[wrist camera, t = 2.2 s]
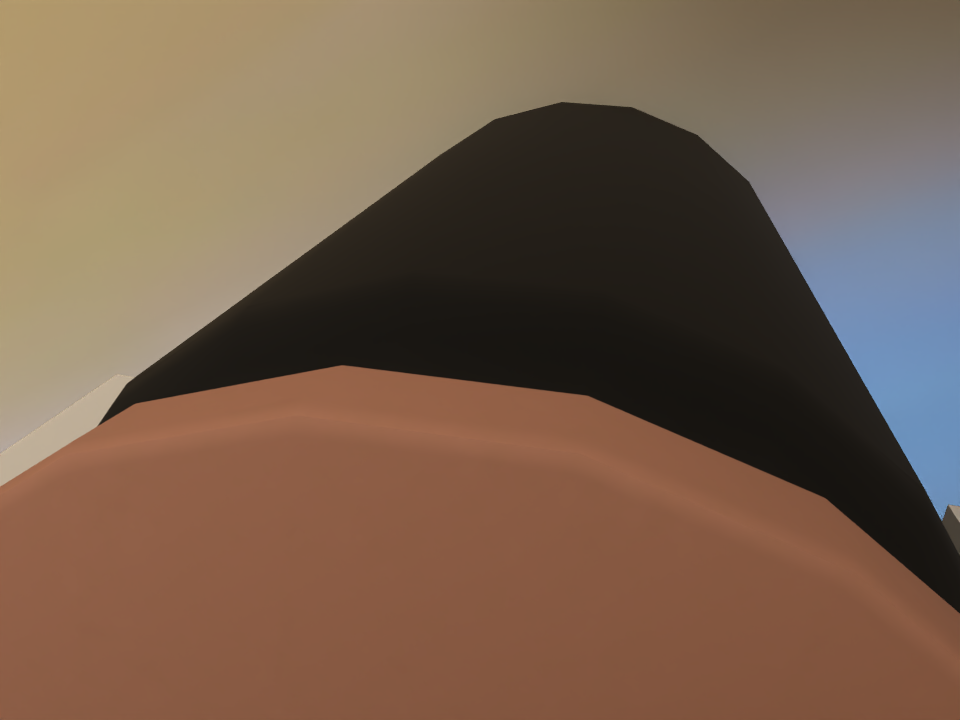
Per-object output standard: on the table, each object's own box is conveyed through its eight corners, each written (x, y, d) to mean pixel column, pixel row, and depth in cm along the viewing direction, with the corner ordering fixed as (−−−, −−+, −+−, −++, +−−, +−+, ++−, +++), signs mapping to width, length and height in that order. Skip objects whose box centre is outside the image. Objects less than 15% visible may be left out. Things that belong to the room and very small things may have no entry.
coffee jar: (482, 505, 26) (213, 1321, 10) (328, 190, 23) (-423, 629, 7) (831, 406, 23) (1280, 1386, 7) (706, 23, 20) (975, 108, 4)
